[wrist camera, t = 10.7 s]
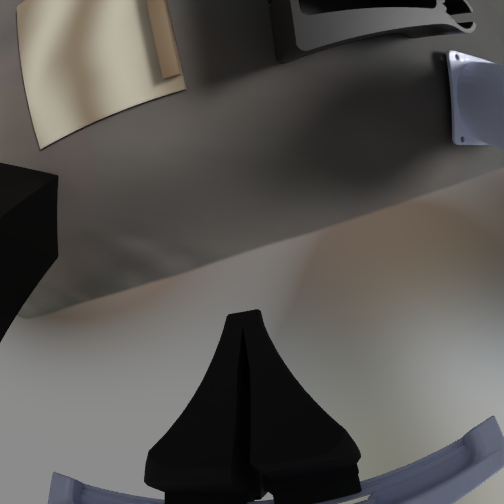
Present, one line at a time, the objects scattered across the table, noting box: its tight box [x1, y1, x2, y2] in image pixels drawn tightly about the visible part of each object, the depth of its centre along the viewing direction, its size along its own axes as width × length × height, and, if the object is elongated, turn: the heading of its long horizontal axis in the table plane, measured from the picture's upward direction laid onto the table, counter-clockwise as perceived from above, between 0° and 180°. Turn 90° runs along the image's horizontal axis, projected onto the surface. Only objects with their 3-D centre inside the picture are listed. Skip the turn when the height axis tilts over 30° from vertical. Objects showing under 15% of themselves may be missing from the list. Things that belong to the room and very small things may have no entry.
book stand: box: [17, 0, 187, 149], centre depth 11 cm, size 12×14×2 cm
